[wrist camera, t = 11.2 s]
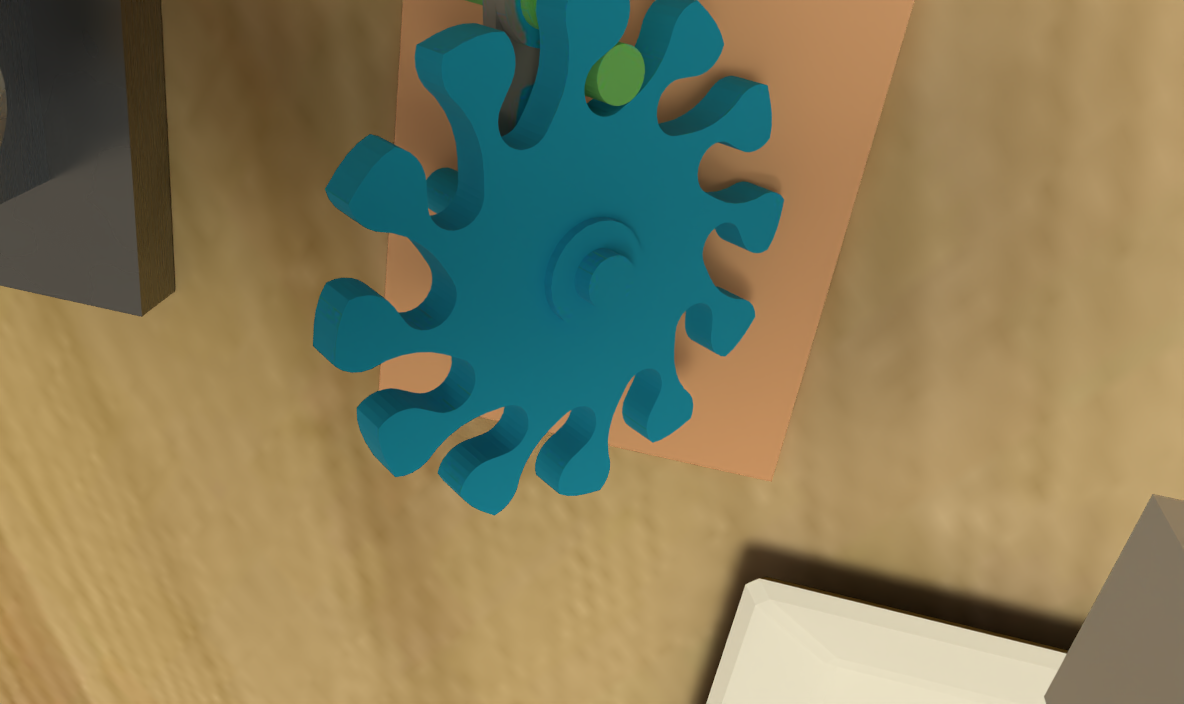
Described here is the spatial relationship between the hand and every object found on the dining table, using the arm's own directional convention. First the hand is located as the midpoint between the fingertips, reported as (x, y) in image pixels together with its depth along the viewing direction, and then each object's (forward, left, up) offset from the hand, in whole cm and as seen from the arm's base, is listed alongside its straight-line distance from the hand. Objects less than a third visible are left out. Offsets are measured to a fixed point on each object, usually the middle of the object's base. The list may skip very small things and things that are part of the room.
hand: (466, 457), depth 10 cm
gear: (+1, +2, -14) cm, 14 cm away
